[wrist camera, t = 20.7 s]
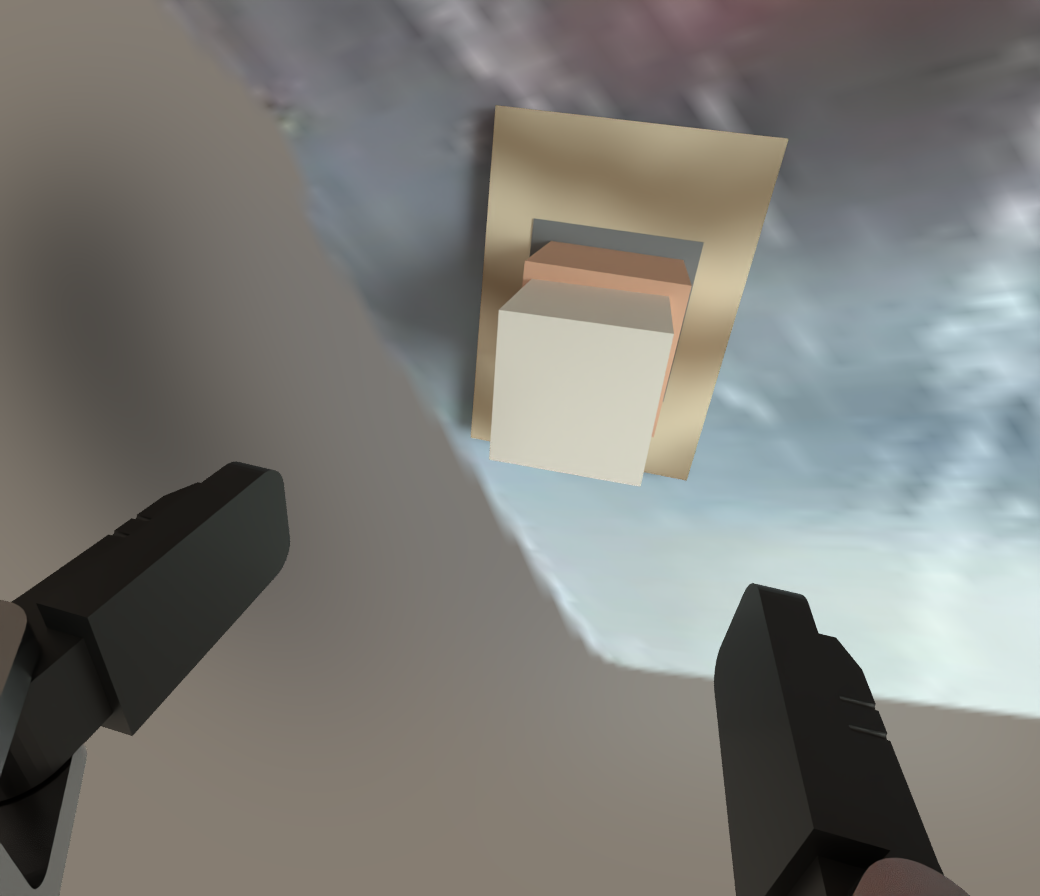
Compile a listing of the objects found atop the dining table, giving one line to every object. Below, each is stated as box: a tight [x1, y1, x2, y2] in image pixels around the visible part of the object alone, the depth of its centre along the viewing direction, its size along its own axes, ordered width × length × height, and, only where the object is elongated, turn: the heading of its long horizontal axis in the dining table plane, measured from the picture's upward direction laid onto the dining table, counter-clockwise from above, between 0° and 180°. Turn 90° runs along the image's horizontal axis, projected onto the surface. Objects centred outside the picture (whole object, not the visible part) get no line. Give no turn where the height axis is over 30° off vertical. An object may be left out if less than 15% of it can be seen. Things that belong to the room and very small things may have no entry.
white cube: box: [489, 279, 674, 486], centre depth 19 cm, size 5×5×5 cm
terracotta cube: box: [522, 241, 692, 437], centre depth 24 cm, size 6×6×6 cm
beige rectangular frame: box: [471, 105, 788, 480], centre depth 27 cm, size 16×12×2 cm
